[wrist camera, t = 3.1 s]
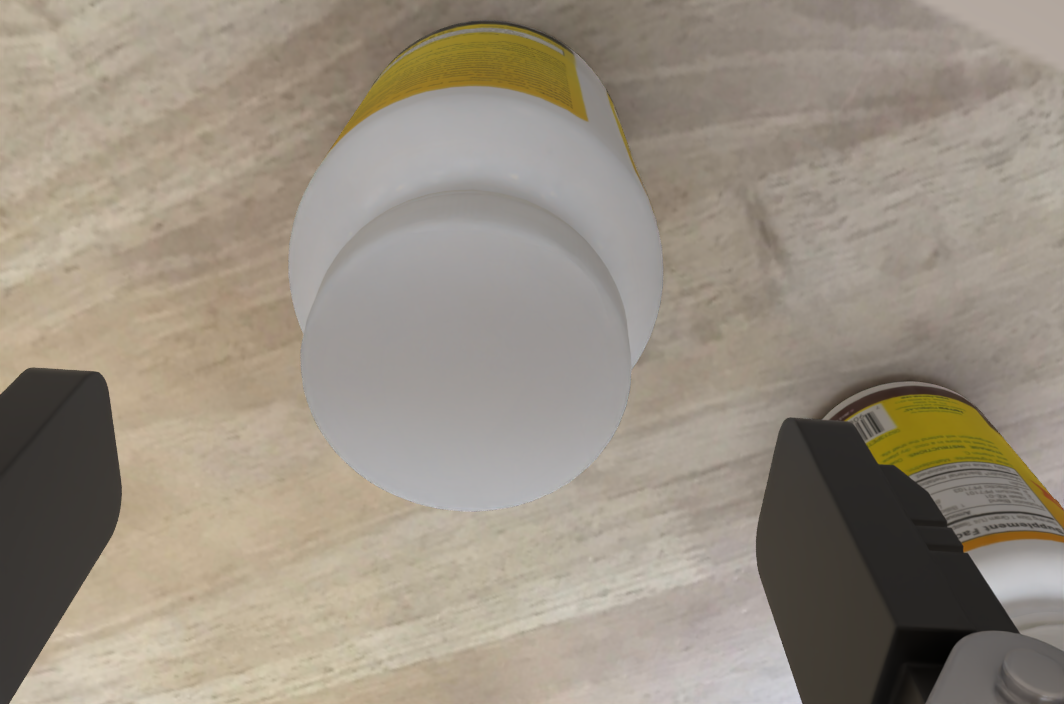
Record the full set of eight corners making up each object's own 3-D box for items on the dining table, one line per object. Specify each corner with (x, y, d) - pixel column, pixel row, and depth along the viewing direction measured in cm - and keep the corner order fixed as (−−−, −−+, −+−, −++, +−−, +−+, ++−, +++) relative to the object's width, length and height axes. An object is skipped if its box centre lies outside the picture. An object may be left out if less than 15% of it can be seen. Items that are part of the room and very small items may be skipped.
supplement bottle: (964, 532, 29) (1164, 839, 20) (781, 532, 29) (896, 839, 20) (1007, 370, 26) (1256, 636, 17) (806, 370, 26) (951, 636, 17)
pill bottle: (313, 81, 23) (134, 261, 13) (564, -32, 22) (594, 64, 11) (431, 309, 26) (364, 611, 15) (659, 219, 24) (753, 480, 14)
